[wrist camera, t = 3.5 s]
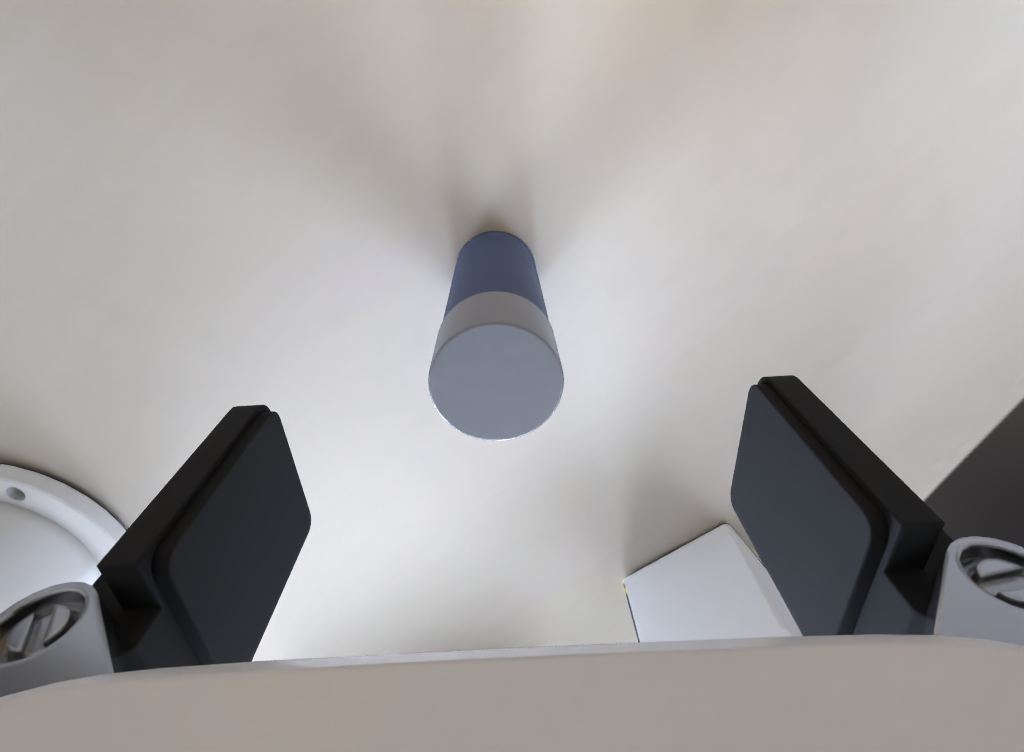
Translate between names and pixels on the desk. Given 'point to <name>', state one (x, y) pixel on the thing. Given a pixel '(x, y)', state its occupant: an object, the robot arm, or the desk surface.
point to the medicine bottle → (707, 594)
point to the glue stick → (495, 344)
